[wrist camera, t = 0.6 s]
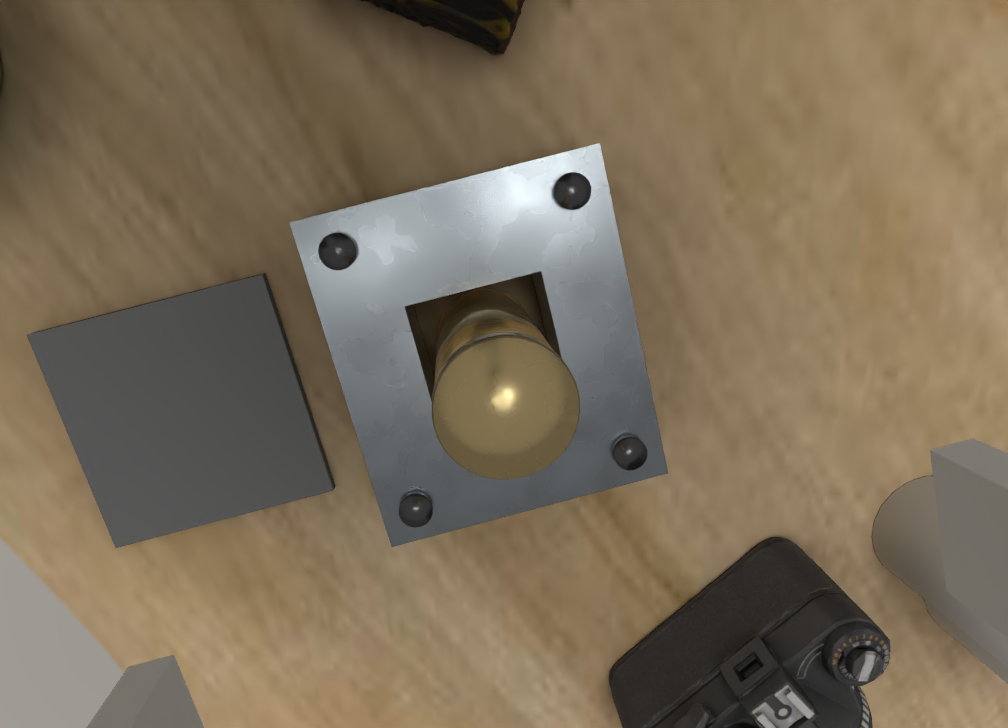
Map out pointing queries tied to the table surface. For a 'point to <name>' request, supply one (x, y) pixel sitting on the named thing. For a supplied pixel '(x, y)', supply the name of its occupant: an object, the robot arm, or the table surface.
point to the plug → (500, 389)
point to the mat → (185, 410)
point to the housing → (467, 265)
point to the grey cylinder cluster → (931, 569)
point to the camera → (756, 653)
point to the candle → (463, 18)
